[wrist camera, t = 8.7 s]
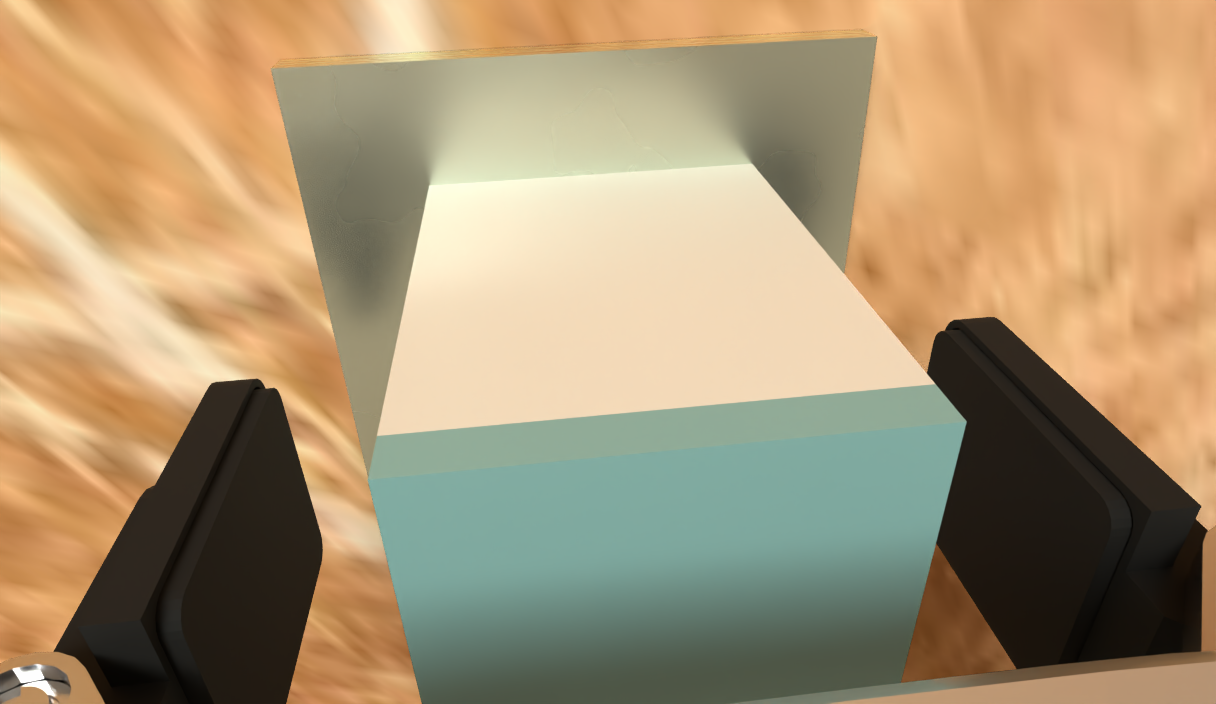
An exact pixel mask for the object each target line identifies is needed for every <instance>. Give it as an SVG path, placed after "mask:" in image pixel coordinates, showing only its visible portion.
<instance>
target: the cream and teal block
mask: <svg viewBox="0 0 1216 704" xmlns="http://www.w3.org/2000/svg"><path fill="white" fill-rule="evenodd" d="M966 422H967V421H966V420H965V419H964V418H963V417H962V415H961V414H960V413H959V412H958V411H957V409H956V408H955V407H954V406H953V405H952V403H951V402H950V401H949V400H948V399H947V397H946V396H945V395H944V394H943V393H942V391H941V390H940V389H939V388H938V387H937V385H936V384H935V383H934V382H933V381H932V379H931V378H930V377H929V376H928V374H927V373H926V372H925V371H924V370H923V368H922V367H921V366H920V365H919V364H918V362H917V361H916V360H915V359H914V358H913V356H912V355H911V354H910V353H909V352H908V350H907V349H906V348H905V347H904V346H903V344H902V343H901V342H900V341H899V340H898V338H897V337H896V336H895V335H894V334H893V332H892V331H891V330H890V329H889V328H888V326H887V325H886V324H885V323H884V322H883V320H882V319H881V318H880V317H879V316H878V314H877V313H876V312H875V311H874V310H873V308H872V307H871V306H870V305H869V304H868V302H867V301H866V300H865V299H864V298H863V296H862V295H861V294H860V293H859V291H858V290H857V289H856V288H855V287H854V285H853V284H852V283H851V282H850V281H849V279H848V278H847V277H846V276H845V275H844V273H843V272H842V271H841V270H840V269H839V267H838V266H837V265H836V264H835V263H834V261H833V260H832V259H831V258H830V257H829V255H828V254H827V253H826V252H825V251H824V249H823V248H822V247H821V246H820V245H819V243H818V242H817V241H816V240H815V239H814V237H813V236H812V235H811V234H810V233H809V231H808V230H807V229H806V228H805V227H804V225H803V224H802V223H801V222H800V221H799V219H798V218H797V217H796V216H795V215H794V213H793V212H792V211H791V210H790V208H789V207H788V206H787V205H786V204H785V202H784V201H783V200H782V199H781V198H780V196H779V195H778V194H777V193H776V192H775V190H774V189H773V188H772V187H771V186H770V184H769V183H768V182H767V181H766V180H765V178H764V177H763V176H762V175H761V174H760V172H759V171H758V170H757V169H756V168H755V166H754V165H753V164H739V165H725V166H710V167H695V168H681V169H666V170H651V171H637V172H622V173H607V174H592V175H578V176H563V177H548V178H534V179H519V180H504V181H490V182H475V183H460V184H445V185H431V186H429V189H428V194H427V199H426V204H425V208H424V213H423V218H422V223H421V228H420V232H419V237H418V242H417V247H416V251H415V256H414V261H413V266H412V271H411V275H410V280H409V285H408V290H407V295H406V299H405V304H404V309H403V314H402V318H401V323H400V328H399V333H398V338H397V342H396V347H395V352H394V357H393V362H392V366H391V371H390V376H389V381H388V385H387V390H386V395H385V400H384V405H383V409H382V414H381V419H380V424H379V428H378V433H377V438H376V443H375V448H374V452H373V457H372V462H371V467H370V472H369V476H368V483H369V487H370V491H371V495H372V500H373V504H374V508H375V512H376V516H377V520H378V524H379V528H380V533H381V537H382V541H383V545H384V549H385V553H386V557H387V561H388V566H389V570H390V574H391V578H392V582H393V586H394V590H395V594H396V599H397V603H398V607H399V611H400V615H401V619H402V623H403V628H404V632H405V636H406V640H407V644H408V648H409V652H410V656H411V661H412V665H413V669H414V673H415V677H416V681H417V685H418V689H419V694H420V698H421V702H422V704H730V703H738V702H747V701H755V700H763V699H771V698H779V697H788V696H796V695H804V694H812V693H820V692H829V691H837V690H845V689H853V688H862V687H870V686H879V685H887V684H896V683H901V680H902V676H903V672H904V668H905V664H906V660H907V656H908V652H909V648H910V644H911V640H912V636H913V632H914V628H915V624H916V620H917V616H918V612H919V609H920V605H921V601H922V597H923V593H924V589H925V585H926V581H927V577H928V573H929V569H930V565H931V561H932V557H933V553H934V549H935V545H936V541H937V537H938V533H939V529H940V525H941V521H942V517H943V513H944V510H945V506H946V502H947V498H948V494H949V490H950V486H951V482H952V478H953V474H954V470H955V466H956V462H957V458H958V454H959V450H960V446H961V442H962V438H963V434H964V430H965V426H966Z"/></svg>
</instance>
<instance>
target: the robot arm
mask: <svg viewBox="0 0 1216 704" xmlns="http://www.w3.org/2000/svg"><path fill="white" fill-rule="evenodd" d="M927 374H928V376H929V377H930V378H931V379H932V381H933V382H934V383H935V384H936V385H937V387H938V388H939V389H940V390H941V391H942V393H943V394H944V395H945V396H946V397H947V399H948V400H949V401H950V402H951V403H952V405H953V406H954V407H955V408H956V409H957V411H958V412H959V413H960V414H961V415H962V417H963V418H964V419H965V420H966V421H967V422H966V426H965V430H964V434H963V438H962V442H961V446H960V450H959V454H958V458H957V462H956V466H955V470H954V474H953V478H952V482H951V486H950V490H949V494H948V498H947V502H946V506H945V510H944V513H943V517H942V521H941V525H940V529H939V533H938V537H937V541H936V543H937V545H938V546H939V548H940V550H941V551H942V553H943V554H944V556H945V557H946V559H947V561H948V562H949V564H950V565H951V567H952V568H953V570H954V571H955V573H956V575H957V576H958V578H959V579H960V581H961V582H962V584H963V586H964V587H965V589H966V590H967V592H968V593H969V595H970V596H971V598H972V600H973V601H974V603H975V604H976V606H977V607H978V609H979V611H980V612H981V614H982V615H983V617H984V618H985V620H986V622H987V623H988V625H989V626H990V628H991V629H992V631H993V632H994V634H995V636H996V637H997V639H998V640H999V642H1000V643H1001V645H1002V647H1003V648H1004V650H1005V651H1006V653H1007V654H1008V656H1009V657H1010V659H1011V661H1012V662H1013V664H1014V665H1015V667H1016V668H1017V669H1015V670H1007V671H998V672H990V673H981V674H973V675H964V676H956V677H947V678H939V679H930V680H921V681H913V682H904V683H896V684H887V685H879V686H870V687H862V688H853V689H845V690H837V691H829V692H820V693H812V694H804V695H796V696H788V697H779V698H771V699H763V700H755V701H747V702H738V703H730V704H1216V526H1215V527H1213V528H1212V529H1211V530H1209V531H1208V530H1207V529H1205V528H1204V527H1203V526H1202V525H1201V524H1200V523H1199V522H1198V521H1197V520H1196V516H1197V514H1198V512H1199V510H1200V508H1201V505H1200V504H1198V503H1197V502H1196V501H1195V500H1194V499H1193V498H1192V497H1191V496H1190V495H1189V494H1188V493H1186V492H1185V491H1184V490H1183V489H1182V488H1181V487H1180V486H1179V485H1178V484H1177V483H1176V482H1175V481H1173V480H1172V479H1171V478H1170V477H1169V476H1168V475H1167V474H1166V473H1165V472H1164V471H1163V470H1162V469H1160V468H1159V467H1158V466H1157V465H1156V464H1155V463H1154V462H1153V461H1152V460H1151V459H1150V458H1149V457H1147V456H1146V455H1145V454H1144V453H1143V452H1142V451H1141V450H1140V449H1139V448H1138V447H1137V446H1136V445H1134V444H1133V443H1132V442H1131V441H1130V440H1129V439H1128V438H1127V437H1126V436H1125V435H1124V434H1122V433H1121V432H1120V431H1119V430H1118V429H1117V428H1116V427H1115V426H1114V425H1113V424H1112V423H1111V422H1109V421H1108V420H1107V419H1106V418H1105V417H1104V416H1103V415H1102V414H1101V413H1100V412H1099V411H1098V410H1096V409H1095V408H1094V407H1093V406H1092V405H1091V404H1090V403H1089V402H1088V401H1087V400H1086V399H1085V398H1083V397H1082V396H1081V395H1080V394H1079V393H1078V392H1077V391H1076V390H1075V389H1074V388H1073V387H1072V386H1070V385H1069V384H1068V383H1067V382H1066V381H1065V380H1064V379H1063V378H1062V377H1061V376H1060V375H1058V374H1057V373H1056V372H1055V371H1054V370H1053V369H1052V368H1051V367H1050V366H1049V365H1048V364H1047V363H1045V362H1044V361H1043V360H1042V359H1041V358H1040V357H1039V356H1038V355H1037V354H1036V353H1035V352H1034V351H1032V350H1031V349H1030V348H1029V347H1028V346H1027V345H1026V344H1025V343H1024V342H1023V341H1022V340H1021V339H1019V338H1018V337H1017V336H1016V335H1015V334H1014V333H1013V332H1012V331H1011V330H1010V329H1009V328H1008V327H1006V326H1005V325H1004V324H1003V323H1002V322H1001V321H1000V320H998V319H997V318H995V317H985V318H973V319H961V320H953V321H952V322H950V323H949V324H948V326H947V327H946V330H945V331H941V332H939V333H938V334H937V335H936V337H935V340H934V343H933V348H932V352H931V357H930V362H929V366H928V371H927ZM322 552H323V549H322V538H321V533H320V530H319V526H318V523H317V519H316V516H315V512H314V509H313V506H312V502H311V499H310V495H309V492H308V489H307V485H306V482H305V478H304V475H303V471H302V468H301V465H300V461H299V458H298V454H297V451H296V447H295V444H294V441H293V437H292V434H291V430H290V427H289V423H288V420H287V417H286V413H285V410H284V406H283V403H282V399H281V397H280V394H279V392H278V391H277V389H275V388H269V389H265V386H264V385H263V383H262V382H261V380H259V379H248V380H236V381H224V382H215V383H212V384H211V385H210V386H209V388H208V389H207V391H206V393H205V395H204V397H203V398H202V400H201V402H200V404H199V406H198V408H197V409H196V411H195V413H194V415H193V417H192V419H191V420H190V422H189V424H188V426H187V428H186V430H185V431H184V433H183V435H182V437H181V439H180V441H179V442H178V444H177V446H176V448H175V450H174V452H173V453H172V455H171V457H170V459H169V461H168V463H167V464H166V466H165V468H164V470H163V472H162V474H161V475H160V477H159V479H158V481H157V483H156V485H155V486H152V487H150V488H148V489H146V490H145V492H144V493H143V494H142V496H141V497H140V498H139V500H138V502H137V503H136V505H135V507H134V509H133V511H132V512H131V514H130V516H129V518H128V519H127V521H126V523H125V525H124V527H123V528H122V530H121V532H120V534H119V536H118V537H117V539H116V541H115V543H114V545H113V546H112V548H111V550H110V552H109V553H108V555H107V557H106V559H105V561H104V562H103V564H102V566H101V568H100V570H99V571H98V573H97V575H96V577H95V578H94V580H93V582H92V584H91V586H90V587H89V589H88V591H87V593H86V595H85V596H84V598H83V600H82V602H81V603H80V605H79V607H78V609H77V611H76V612H75V614H74V616H73V618H72V620H71V621H70V623H69V625H68V627H67V628H66V630H65V632H64V634H63V636H62V637H61V639H60V641H59V643H58V645H57V646H56V648H55V650H54V652H35V653H31V654H27V655H23V656H19V657H15V658H11V659H9V660H6V661H4V662H2V663H0V704H286V702H287V698H288V694H289V690H290V686H291V682H292V678H293V674H294V670H295V666H296V662H297V658H298V654H299V650H300V646H301V642H302V638H303V634H304V630H305V626H306V622H307V618H308V614H309V610H310V606H311V602H312V598H313V594H314V590H315V586H316V582H317V578H318V574H319V570H320V566H321V562H322Z"/></svg>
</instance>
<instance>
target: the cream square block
mask: <svg viewBox="0 0 1216 704" xmlns="http://www.w3.org/2000/svg"><path fill="white" fill-rule="evenodd" d="M876 42H877V36H875V35H873V34H871V33H869V32H867V31H864V30H862V29H861V30H842V31H823V32H803V33H784V34H765V35H745V36H726V37H707V38H688V39H668V40H649V41H630V42H611V43H591V44H572V45H553V46H534V47H514V48H495V49H476V50H457V51H437V52H418V53H399V54H379V55H360V56H341V57H322V58H302V59H283V60H279V61H278V62H277V63H276V64H275V65H274V66H273V67H272V68H271V71H272V76H273V80H274V84H275V88H276V92H277V97H278V101H279V105H280V109H281V113H282V118H283V122H284V126H285V130H286V134H287V139H288V143H289V147H290V151H291V155H292V160H293V164H294V168H295V172H296V176H297V181H298V185H299V189H300V193H301V197H302V202H303V206H304V210H305V214H306V218H307V223H308V227H309V231H310V235H311V239H312V244H313V248H314V252H315V256H316V260H317V265H318V269H319V273H320V277H321V281H322V286H323V290H324V294H325V298H326V302H327V307H328V311H329V315H330V319H331V323H332V328H333V332H334V336H335V340H336V344H337V349H338V353H339V357H340V361H341V365H342V370H343V374H344V378H345V382H346V386H347V391H348V395H349V399H350V403H351V407H352V412H353V416H354V420H355V424H356V428H357V433H358V437H359V441H360V445H361V449H362V454H363V458H364V462H365V466H366V470H367V475H368V476H369V472H370V467H371V462H372V457H373V452H374V448H375V443H376V438H377V433H378V428H379V424H380V419H381V414H382V409H383V405H384V400H385V395H386V390H387V385H388V381H389V376H390V371H391V366H392V362H393V357H394V352H395V347H396V342H397V338H398V333H399V328H400V323H401V318H402V314H403V309H404V304H405V299H406V295H407V290H408V285H409V280H410V275H411V271H412V266H413V261H414V256H415V251H416V247H417V242H418V237H419V232H420V228H421V223H422V218H423V213H424V208H425V204H426V199H427V194H428V189H429V186H431V185H445V184H460V183H475V182H490V181H504V180H519V179H534V178H548V177H563V176H578V175H592V174H607V173H622V172H637V171H651V170H666V169H681V168H695V167H710V166H725V165H739V164H753V165H754V166H755V168H756V169H757V170H758V171H759V172H760V174H761V175H762V176H763V177H764V178H765V180H766V181H767V182H768V183H769V184H770V186H771V187H772V188H773V189H774V190H775V192H776V193H777V194H778V195H779V196H780V198H781V199H782V200H783V201H784V202H785V204H786V205H787V206H788V207H789V208H790V210H791V211H792V212H793V213H794V215H795V216H796V217H797V218H798V219H799V221H800V222H801V223H802V224H803V225H804V227H805V228H806V229H807V230H808V231H809V233H810V234H811V235H812V236H813V237H814V239H815V240H816V241H817V242H818V243H819V245H820V246H821V247H822V248H823V249H824V251H825V252H826V253H827V254H828V255H829V257H830V258H831V259H832V260H833V261H834V263H835V264H836V265H837V266H838V267H839V269H840V270H841V271H842V272H843V273H844V271H845V264H846V257H847V249H848V242H849V235H850V228H851V221H852V214H853V207H854V199H855V192H856V185H857V178H858V171H859V164H860V157H861V149H862V142H863V135H864V128H865V121H866V114H867V106H868V99H869V92H870V85H871V78H872V71H873V64H874V56H875V49H876Z"/></svg>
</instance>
